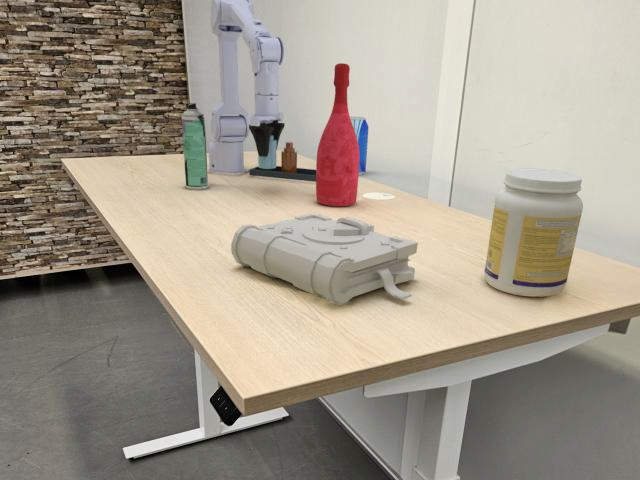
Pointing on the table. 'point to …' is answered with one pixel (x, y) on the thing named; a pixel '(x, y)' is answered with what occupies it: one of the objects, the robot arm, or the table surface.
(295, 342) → the table surface
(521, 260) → the supplement tub
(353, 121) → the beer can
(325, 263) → the book
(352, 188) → the wine bottle
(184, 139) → the spray can
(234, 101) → the robot arm
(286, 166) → the bottle row
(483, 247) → the table surface
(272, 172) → the tray
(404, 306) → the table surface
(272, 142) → the blue bottle
